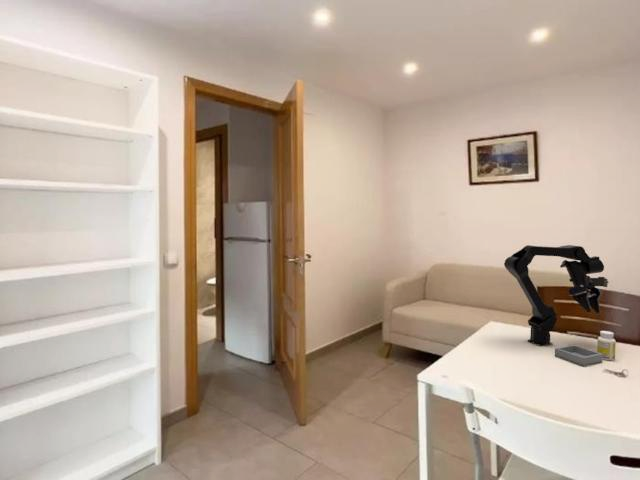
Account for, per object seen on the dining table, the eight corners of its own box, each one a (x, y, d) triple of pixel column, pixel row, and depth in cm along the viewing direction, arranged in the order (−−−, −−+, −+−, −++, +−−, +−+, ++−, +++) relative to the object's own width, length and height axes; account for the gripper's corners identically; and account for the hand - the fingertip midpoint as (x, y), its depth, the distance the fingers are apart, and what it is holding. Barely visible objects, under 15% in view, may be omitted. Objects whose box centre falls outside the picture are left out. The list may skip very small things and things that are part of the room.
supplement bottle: (608, 355, 146) (610, 330, 145) (618, 361, 140) (619, 334, 140) (593, 355, 146) (594, 329, 145) (602, 360, 141) (604, 334, 140)
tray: (554, 356, 145) (554, 348, 144) (573, 352, 149) (573, 344, 148) (583, 366, 135) (583, 358, 135) (602, 362, 139) (602, 353, 139)
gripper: (590, 265, 146) (608, 305, 139) (608, 270, 157) (625, 307, 150) (560, 275, 154) (576, 313, 147) (579, 279, 164) (594, 315, 158)
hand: (594, 312), depth 150 cm, fingers open, 9 cm apart
